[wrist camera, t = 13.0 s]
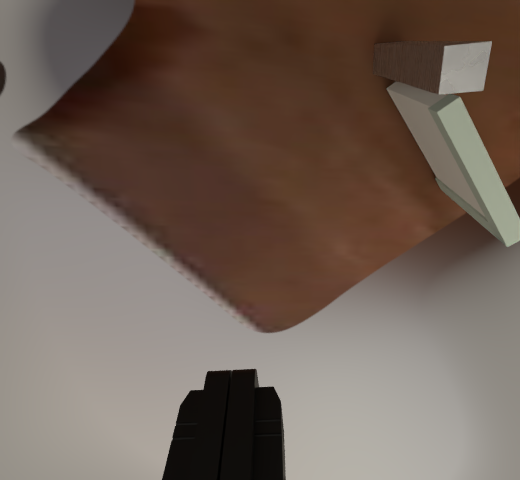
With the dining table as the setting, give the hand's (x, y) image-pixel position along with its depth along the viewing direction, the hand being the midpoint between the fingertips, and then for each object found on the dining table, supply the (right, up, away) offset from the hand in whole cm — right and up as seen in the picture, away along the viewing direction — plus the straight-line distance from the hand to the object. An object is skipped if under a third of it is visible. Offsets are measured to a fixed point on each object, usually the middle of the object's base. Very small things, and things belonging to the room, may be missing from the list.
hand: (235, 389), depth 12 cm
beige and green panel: (+17, +15, +26) cm, 35 cm away
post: (+13, +22, +24) cm, 35 cm away
